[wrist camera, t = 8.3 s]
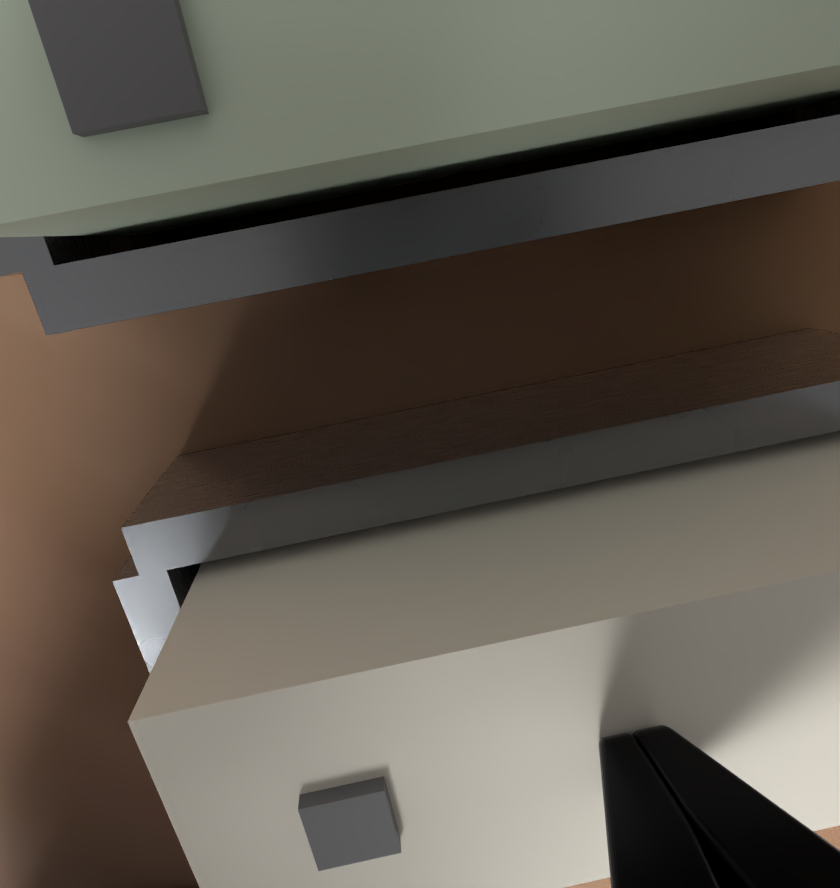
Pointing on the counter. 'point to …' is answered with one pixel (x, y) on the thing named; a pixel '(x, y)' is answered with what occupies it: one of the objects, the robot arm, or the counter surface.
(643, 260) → the counter surface
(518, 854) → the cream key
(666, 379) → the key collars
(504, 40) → the sage key
